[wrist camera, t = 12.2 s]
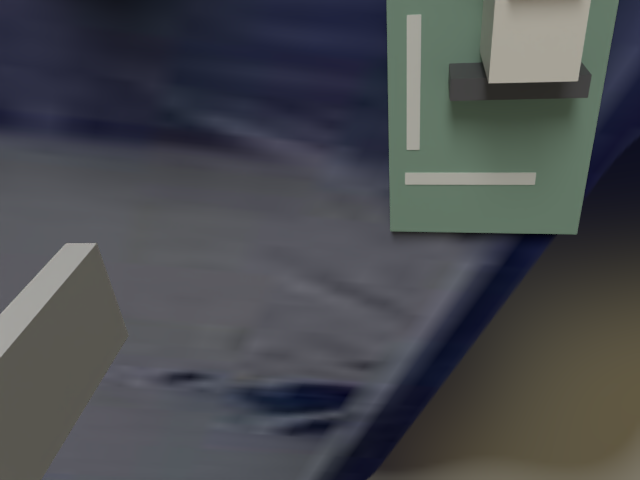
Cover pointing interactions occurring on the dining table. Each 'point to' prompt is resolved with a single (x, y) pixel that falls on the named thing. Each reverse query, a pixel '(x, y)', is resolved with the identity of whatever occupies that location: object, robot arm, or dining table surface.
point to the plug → (533, 40)
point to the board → (485, 127)
